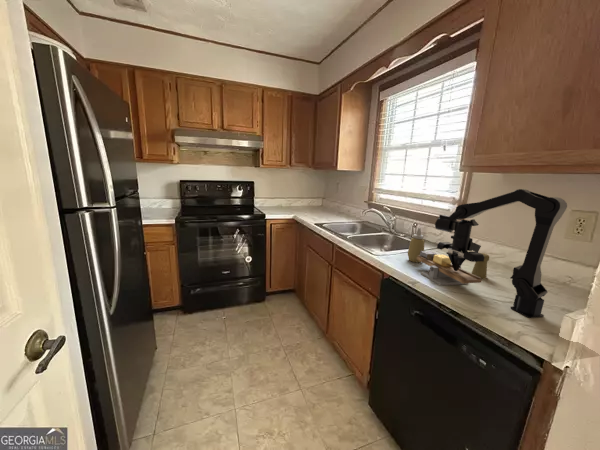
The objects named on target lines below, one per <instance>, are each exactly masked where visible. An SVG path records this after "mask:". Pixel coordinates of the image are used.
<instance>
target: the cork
mask: <svg viewBox="0 0 600 450" xmlns="http://www.w3.org/2000/svg"><path fill="white" fill-rule="evenodd" d="M480 253H481V254H483V255H484V256H485V258H484V261H480V262H474V265H473V267H472V271H471V272H470V273H471V274H474V275H476V276H478V277H480V278H481V279H483V280H485V279H487V273H488V261H489V260H490V256H489V254H487V253H483V252H480Z"/></svg>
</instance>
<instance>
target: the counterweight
mask: <svg viewBox="0 0 600 450" xmlns="http://www.w3.org/2000/svg"><path fill="white" fill-rule="evenodd" d="M434 255H438V253H436V252H433V251H431V250H424V251H420V256H421V257H423V258H425V259H427V260H433V258H434Z"/></svg>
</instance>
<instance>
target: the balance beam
mask: <svg viewBox="0 0 600 450" xmlns="http://www.w3.org/2000/svg"><path fill="white" fill-rule="evenodd" d="M417 260H419V261H421V262H420V263H422V264H425V265H427V266H429V268H430V267H431V266H436V267H438V271H440V272H442V273H444V274H446V275H448V276H450V277H452V278H453V279H455V280H457V281H459V282H461V283H468V284H478V283H482V282H483V280H482V279H481V278H480V277H478V276H476V275H474V274H471V273H472V272H469V271H467V270H464V269H462V268H461V269H460V268H459V269H458V271H455V270H454V269H453V266H452V263H451V266H450V267H442V266H440V265H438V264H436V263H433V260H427V259H425V258H423V257H421V256H418V257H417Z"/></svg>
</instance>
